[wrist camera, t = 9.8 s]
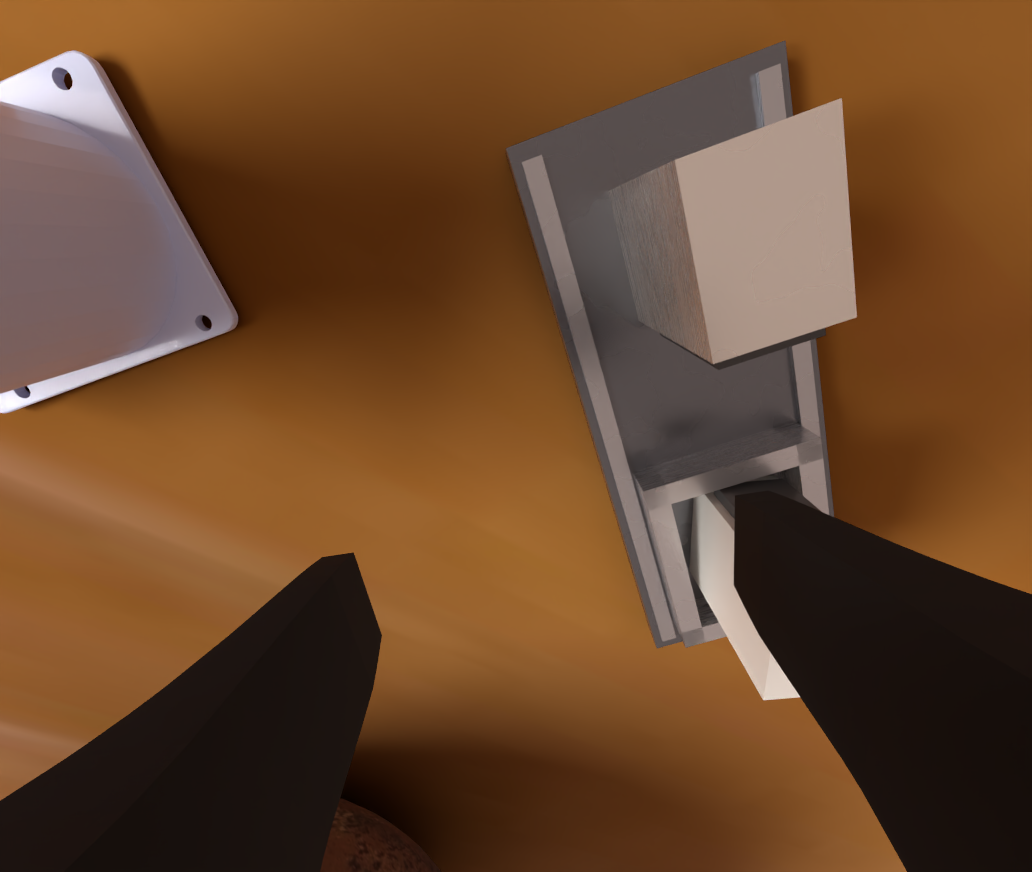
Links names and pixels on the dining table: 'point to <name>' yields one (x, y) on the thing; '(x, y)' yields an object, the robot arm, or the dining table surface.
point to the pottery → (371, 844)
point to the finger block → (717, 579)
